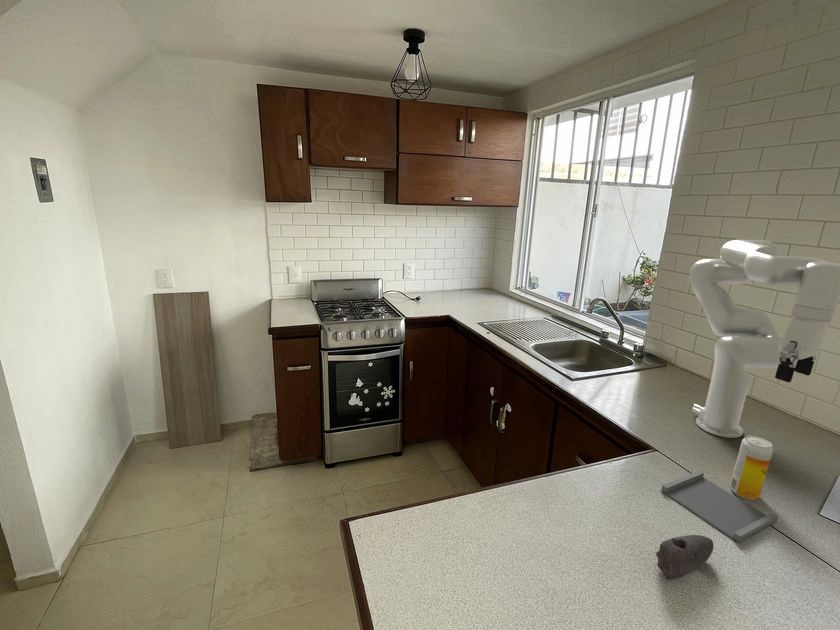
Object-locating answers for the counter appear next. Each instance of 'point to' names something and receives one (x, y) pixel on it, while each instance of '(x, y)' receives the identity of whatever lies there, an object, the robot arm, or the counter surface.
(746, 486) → the beer can
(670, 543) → the perforated stone tool
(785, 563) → the counter surface
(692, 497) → the stand
